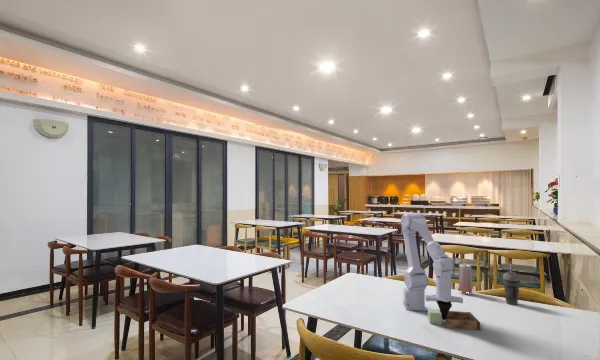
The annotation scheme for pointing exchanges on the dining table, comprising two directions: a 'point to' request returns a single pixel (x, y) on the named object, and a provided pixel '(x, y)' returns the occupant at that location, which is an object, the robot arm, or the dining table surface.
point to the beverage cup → (511, 286)
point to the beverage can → (465, 279)
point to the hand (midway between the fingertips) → (443, 319)
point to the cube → (434, 316)
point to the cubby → (461, 320)
